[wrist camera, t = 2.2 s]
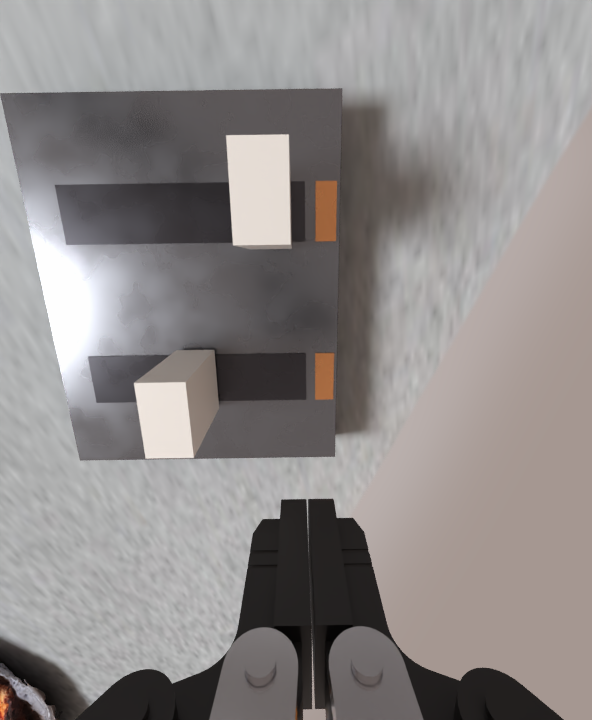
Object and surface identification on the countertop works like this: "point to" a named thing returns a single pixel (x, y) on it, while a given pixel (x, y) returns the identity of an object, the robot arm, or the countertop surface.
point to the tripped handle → (177, 403)
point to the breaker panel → (184, 260)
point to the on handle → (260, 191)
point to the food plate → (22, 699)
